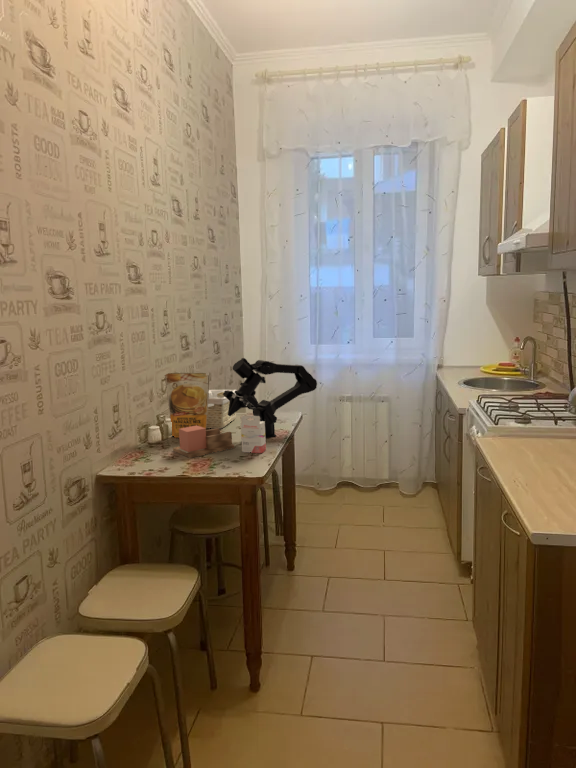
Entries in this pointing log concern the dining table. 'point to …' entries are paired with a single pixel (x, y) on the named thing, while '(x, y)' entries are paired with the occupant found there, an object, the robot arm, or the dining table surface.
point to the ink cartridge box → (253, 434)
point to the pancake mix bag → (187, 400)
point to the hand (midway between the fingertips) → (229, 415)
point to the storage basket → (218, 410)
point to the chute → (211, 443)
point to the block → (192, 438)
